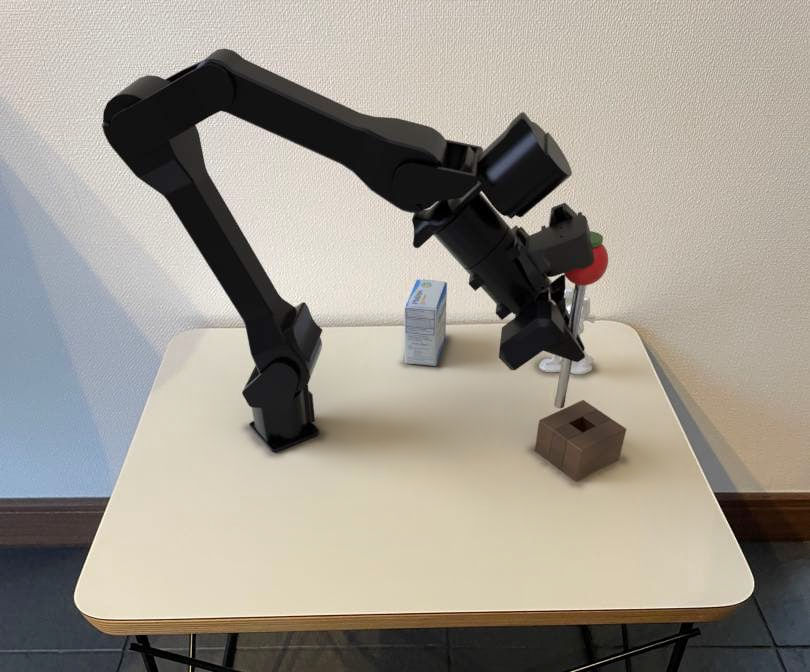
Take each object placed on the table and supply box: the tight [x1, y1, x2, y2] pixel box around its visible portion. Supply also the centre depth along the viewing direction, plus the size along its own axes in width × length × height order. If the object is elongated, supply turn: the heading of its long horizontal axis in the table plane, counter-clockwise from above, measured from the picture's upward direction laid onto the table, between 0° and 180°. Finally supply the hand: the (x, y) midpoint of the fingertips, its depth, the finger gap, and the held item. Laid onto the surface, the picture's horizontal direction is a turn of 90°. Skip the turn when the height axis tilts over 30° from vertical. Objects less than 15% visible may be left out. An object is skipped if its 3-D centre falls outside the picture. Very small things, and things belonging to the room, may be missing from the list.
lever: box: [553, 230, 609, 409], centre depth 79 cm, size 4×4×19 cm
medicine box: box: [403, 279, 448, 367], centre depth 104 cm, size 8×4×9 cm, turn 168°
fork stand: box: [534, 399, 627, 483], centre depth 89 cm, size 7×7×4 cm
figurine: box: [538, 285, 596, 376], centre depth 99 cm, size 5×9×12 cm, turn 96°
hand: (581, 355), depth 81 cm, fingers closed on lever
